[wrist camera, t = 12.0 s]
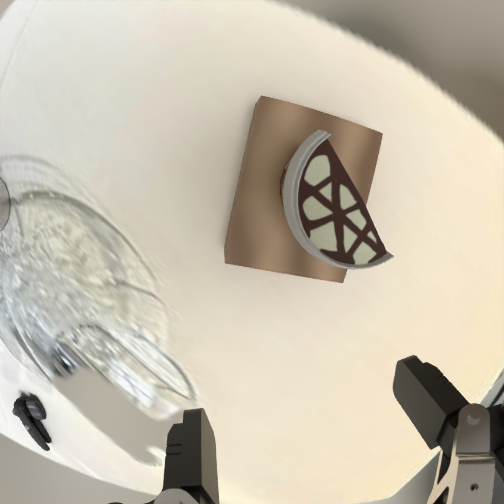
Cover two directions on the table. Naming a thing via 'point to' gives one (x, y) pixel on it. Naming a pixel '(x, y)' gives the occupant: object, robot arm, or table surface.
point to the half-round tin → (328, 208)
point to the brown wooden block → (268, 186)
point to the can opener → (32, 419)
